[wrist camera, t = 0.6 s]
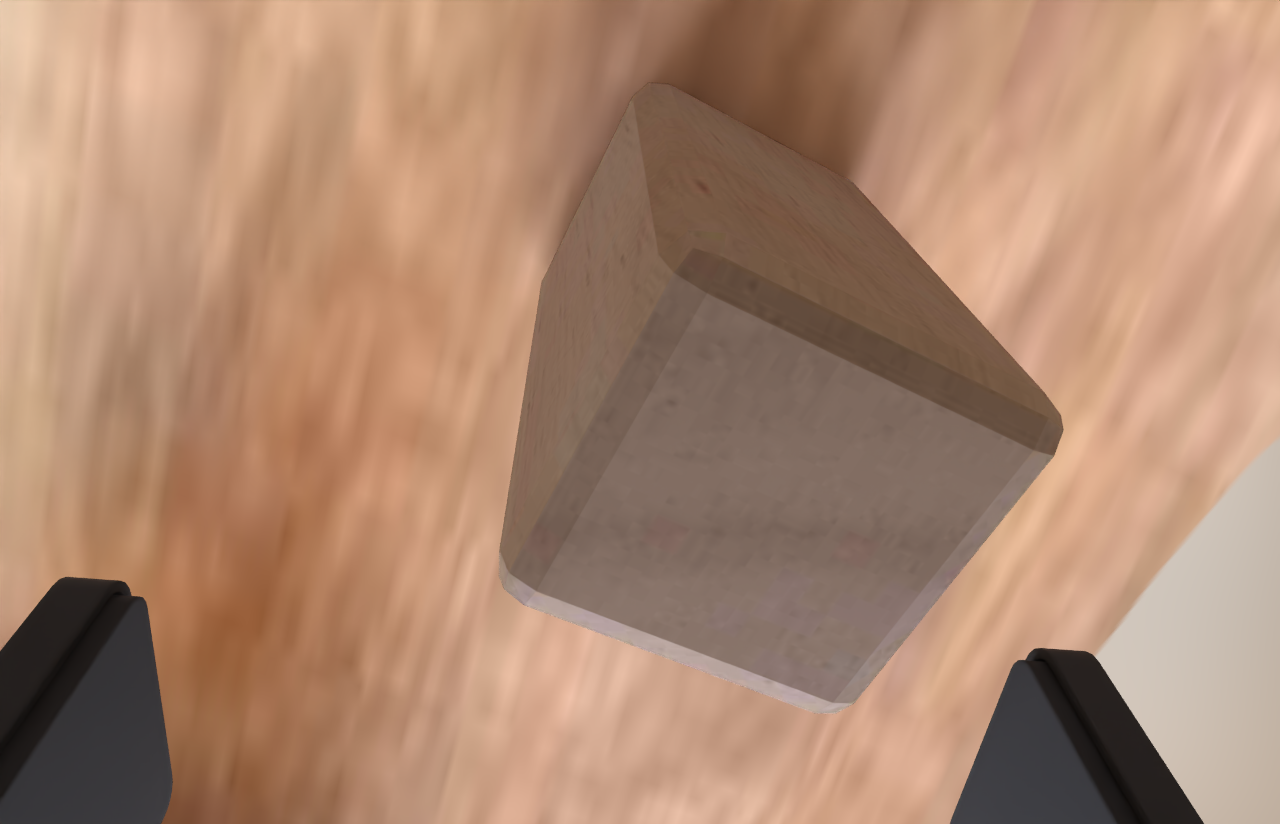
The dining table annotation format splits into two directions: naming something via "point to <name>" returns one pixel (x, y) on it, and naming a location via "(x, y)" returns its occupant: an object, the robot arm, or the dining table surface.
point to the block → (754, 416)
